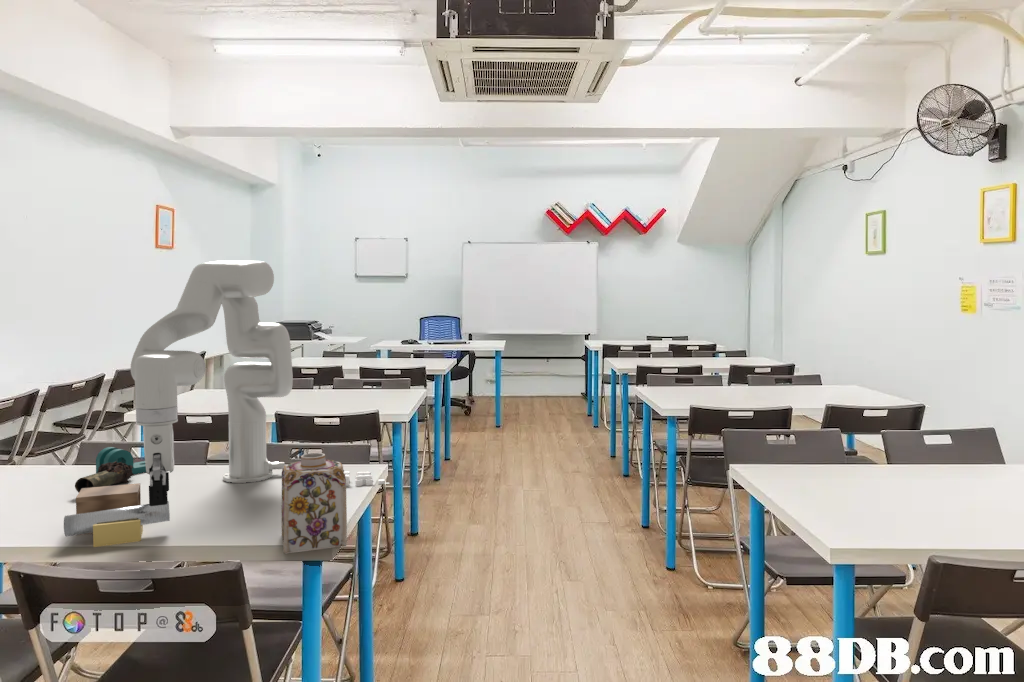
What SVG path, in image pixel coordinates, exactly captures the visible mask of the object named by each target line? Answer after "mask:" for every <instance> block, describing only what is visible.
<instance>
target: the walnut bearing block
mask: <svg viewBox="0 0 1024 682" xmlns="http://www.w3.org/2000/svg"><path fill="white" fill-rule="evenodd" d="M141 498H142V497H141V483H139V482H138V483H128V484H115V485H109V486H103V487H91V488H82V489H81V490H80V492H78V494H76V497H75V514H81V513H88V512H95V511H102V510H109V509H116V508H123V507H130V506H137V505H142V503H141V500H142V499H141ZM91 534H92V535H93V533H87V534H81V535H82V536H83V535H91ZM81 535H80V536H81Z"/></svg>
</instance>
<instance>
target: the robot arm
mask: <svg viewBox="0 0 1024 682" xmlns="http://www.w3.org/2000/svg"><path fill="white" fill-rule="evenodd" d="M274 281H275V273H274V271H273V269H272V267H271V265H270V264H269V263H268V262H266V261H263V260H262V261H261V260H214V261H207V262H206V261H205V262H202V263H199V264H197V265H196V266H195V267H194V268H193V269H192V271H191V273H190V275H189V278H188V279H187V282H186V285H185V287H184V289H183V292H182V294H181V296H180V299H179V301H178V303H177V306H176V308H175V309H174V310H172V311H171V312H169V313H168V314H165V315H164V316H163V317H162V318H160V319H159V320H157V321H156V322H155V323H153V324H152V325H151V326H150V327H148V328H147V329H146V331H145V332H144V333H143V334H142V335H141V337H140V339H139V341H138V342H137V343H138V344H137V345H136V348H135V351H134V353H133V355H132V358H131V361H130V375H131V378H132V379H133V381H134V391H135V392H134V393H135V395H134V396H135V399H134V400H135V424H136V425H137V426H142V431H143V432H142V433H143V437H142V438H143V451H144V452H143V453H144V454H143V455H144V461H145V465H146V472H145V473H146V474H148V475H149V486H148V502H149V503H148V504H149V505H150V506H158V505H166V504H167V502H168V501H169V500H168V492H169V491H170V477H169V476H170V473H171V474H172V473H173V472H174V469H175V444H174V443H175V441H174V440H175V439H174V426H173V424H175V423H178V422H179V418H178V387H184V386H185V387H191V386H194V385H196V384H198V383H199V382H200V381H201V380H202V379H203V377H204V375H205V373H206V363H205V359H204V358H203V357H202V356H201V354H199V353H197V352H195V351H192V350H172V349H171V350H170V349H169V350H165V349H167V348H168V347H169V346H170V345H173V344H174V343H177V342H178V341H181V340H183V339H186V338H188V337H192V336H195V335H197V334H200V333H203V332H205V331H207V330H209V329H211V327H213V326H214V325H215V323H216V320H217V317H218V315H219V311H220V309H221V307H222V309H223V315H224V327H225V336H226V337H225V339H226V347H227V350H228V353H229V354H230V355H231V356H232V357H235V358H240V359H268V360H269V361H268V362H267V361H263V362H262V361H239V362H238V361H237V362H235V363H232V364H231V365H229V366H228V367H227V368H226V370H225V372H224V375H223V376H224V377H223V381H224V388H225V392H226V393H225V394H226V397H227V407H228V412H227V413H228V472H226V473H224V474H223V475H222V480H223V481H224V482H226V483H230V482H232V483H233V484H247V483H246V482H251V483H256V481H258V482H262V481H261V480H263V481H266V480H269V479H271V478H272V477H273V476H272V475H274V474H273V470H282V469H283V467H284V466H285V465H286V464H285V462H284V461H280V462H279V461H269V460H268V458H267V413H266V409H265V407H264V406H263V404H262V402H261V401H260V400H259V398H284V397H286V396H288V395H290V393H291V391H292V389H293V385H294V384H293V383H294V378H293V377H294V376H293V374H294V373H293V360H292V349H291V338H290V334H289V331H288V329H287V328H286V326H285V325H283V324H282V323H279V322H262V321H261V320H260V316H259V315H260V314H259V305H258V302H257V300H256V297H260V296H265V295H266V294H268V293H270V291H271V290H272V288H273V286H274V283H275V282H274ZM152 469H153V470H152ZM271 476H272V477H271ZM270 477H271V478H270ZM268 478H269V479H268ZM265 479H266V480H265ZM232 483H231V484H232Z"/></svg>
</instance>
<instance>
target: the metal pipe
mask: <svg viewBox="0 0 1024 682" xmlns="http://www.w3.org/2000/svg"><path fill="white" fill-rule="evenodd" d="M132 468H133V466H131V465H127V464H125V463H122V462H120V463H117V461H116V462H112V463H111V462H108V463H106V464H102V465H101V466H99V468H98V472H97V473H96V472H95V473H93V474H89V475H85V476H83V477H80V478H78V479H77V480H76V482H75V483H74V488H75V491H76V492H78V493H79V492H80V490H81V489H82V488H91V487H103V486H114V485H119V484H123V483H124V484H125V483H128V482H129V481H128V480H129V479H131V478H132V477H133V476H135V474H133V473H132Z"/></svg>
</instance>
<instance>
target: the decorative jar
mask: <svg viewBox="0 0 1024 682" xmlns="http://www.w3.org/2000/svg"><path fill="white" fill-rule="evenodd" d="M284 465H285V466H284V467H283V469H281V505H280V506H281V507H280V510H281V511H280V513H281V514H280V515H281V516H280V517H281V521H280V522H281V536H282V546H283V547H282V548H283V549H282V550H283V554H291V553H292V554H294V553H300V552H308V551H315V550H325V549H333V548H340V547H347V537H348V535H347V532H348V531H347V527H348V524H347V523H348V522H347V521H348V518H347V517H348V515H347V514H348V513H347V512H348V511H347V508H348V507H347V505H348V504H347V486H346V478H345V474H344V471H345V470H344V465H343V463H341V461H335V460H333V459H327V458H326V454H325V453H323V452H312V453H311V452H310V453H305V454H302V455H301V456H300V460H299V461H294V462H291V463H288V464H284Z"/></svg>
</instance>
